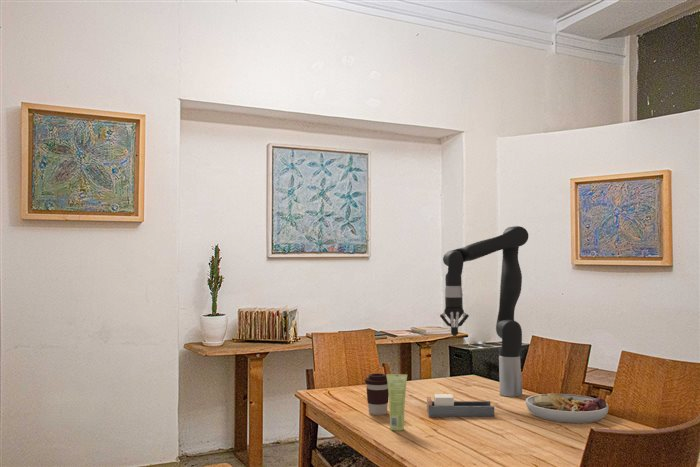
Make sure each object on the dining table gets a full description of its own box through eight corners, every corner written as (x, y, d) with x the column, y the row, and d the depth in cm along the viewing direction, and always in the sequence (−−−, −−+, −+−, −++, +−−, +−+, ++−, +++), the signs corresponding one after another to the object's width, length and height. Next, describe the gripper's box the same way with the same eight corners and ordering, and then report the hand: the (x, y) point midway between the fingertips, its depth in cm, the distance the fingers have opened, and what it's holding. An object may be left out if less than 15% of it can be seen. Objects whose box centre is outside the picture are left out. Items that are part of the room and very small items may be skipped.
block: (452, 409, 236) (451, 394, 237) (454, 413, 230) (453, 397, 231) (434, 409, 237) (434, 394, 237) (435, 413, 231) (435, 397, 231)
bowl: (518, 420, 225) (518, 398, 225) (534, 403, 251) (533, 384, 252) (605, 429, 211) (604, 407, 211) (611, 410, 238) (611, 390, 238)
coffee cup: (388, 416, 231) (388, 377, 231) (363, 415, 233) (363, 376, 233) (392, 410, 240) (391, 372, 241) (367, 409, 242) (367, 372, 243)
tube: (398, 426, 217) (397, 372, 218) (408, 429, 213) (407, 374, 214) (387, 429, 214) (386, 374, 215) (396, 432, 210) (396, 376, 211)
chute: (490, 411, 237) (489, 396, 237) (494, 417, 228) (494, 401, 228) (426, 411, 238) (426, 396, 238) (428, 417, 229) (428, 401, 230)
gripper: (467, 295, 267) (468, 334, 266) (437, 295, 267) (438, 334, 266) (470, 296, 259) (471, 336, 258) (439, 296, 260) (440, 337, 259)
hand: (454, 335), depth 262 cm, fingers closed
